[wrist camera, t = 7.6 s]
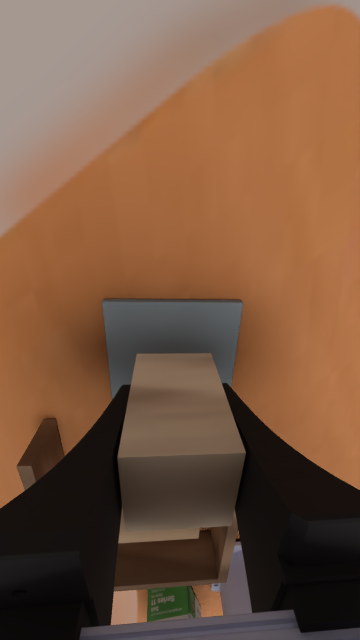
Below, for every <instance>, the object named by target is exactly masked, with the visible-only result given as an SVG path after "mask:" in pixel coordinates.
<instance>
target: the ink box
mask: <svg viewBox="0 0 360 640" xmlns="http://www.w3.org/2000/svg"><path fill="white" fill-rule="evenodd" d="M190 618H201V608H200V605H199V603H198V601H197V599H196V597H195V594H194V592H193V590H192V588H191V586H179V587H166V588H153V589H148V608H147V622H155V621H167V620H178V619H190Z"/></svg>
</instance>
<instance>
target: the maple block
mask: <svg viewBox="0 0 360 640" xmlns="http://www.w3.org/2000/svg"><path fill="white" fill-rule="evenodd" d="M245 455H246V452H245V449H244V446H243V443H242V440H241V437H240V435H239V432H238V429H237V426H236V423H235V420H234V417H233V414H232V412H231V409H230V406H229V403H228V400H227V397H226V394H225V391H224V389H223V386H222V383H221V380H220V377H219V374H218V371H217V368H216V366H215V363H214V360H213V357H212V354H211V353H173V354H137V355H136V361H135V366H134V371H133V377H132V382H131V387H130V393H129V398H128V403H127V409H126V414H125V420H124V425H123V430H122V436H121V441H120V446H119V452H118V457H117V459H118V469H119V478H120V488H121V498H122V507H123V517H124V527H125V532H137V531H154V530H171V529H188V528H205V527H222V526H231V524H232V519H233V514H234V509H235V504H236V499H237V495H238V490H239V485H240V480H241V475H242V470H243V465H244V460H245Z"/></svg>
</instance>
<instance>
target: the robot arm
mask: <svg viewBox="0 0 360 640" xmlns="http://www.w3.org/2000/svg"><path fill="white" fill-rule="evenodd" d="M222 386H223V389H224V391H225V394H226V397H227V400H228V403H229V406H230V409H231V412H232V414H233V417H234V420H235V423H236V426H237V429H238V432H239V435H240V437H241V440H242V443H243V446H244V449H245V452H246V455H245V460H244V465H243V470H242V475H241V480H240V485H239V490H238V495H237V499H236V504H235V514H236V519H237V525H238V530H239V535H240V541H238V542H235V546H234V550H233V555H232V559H231V564H230V568H229V573H228V578H227V582H226V583H218V584H211V585H210V586H211V590H212V591H220V596H221V603H222V609H223V616H213V617H201V618H190V619H178V620H167V621H155V622H143V623H133V624H121V625H111V615H112V603H113V592H114V582H115V572H116V562H117V552H118V542H119V532H120V523H121V514H122V498H121V488H120V478H119V469H118V459H117V457H118V452H119V446H120V441H121V436H122V430H123V425H124V420H125V414H126V409H127V403H128V398H129V393H130V387H131V385H122V386H121V387H120V388H119V390H118V392H117V393H116V395H115V397H114V398H113V400H112V401H111V403H110V404H109V406H108V407H107V408H106V410H105V411H104V412H103V414H102V415H101V417H100V418H99V419H98V420H97V422H96V423H95V424H94V425H93V427H92V428H91V429H90V430H89V431H88V433H87V434H86V435H85V436H84V437H83V438H82V439H81V440H80V442H79V443H78V444H77V445H76V446H75V447H74V448H73V449H72V450H71V451H70V452H69V453H68V454H67V455H66V456H65V457H64V458H63V459H62V460H61V461H59V462H58V463H57V464H56V465H55V466H54V467H53V468H52V469H51V470H49V471H48V472H47V473H46V474H45V475H43V476H42V477H41V478H40V479H39V480H37V481H36V482H35V483H34V484H33V485H31V486H30V487H29V488H28V489H26V490H25V491H24V492H23V493H21V494H20V495H18V496H17V497H16V498H14V499H13V500H12V501H10V502H9V503H7V504H6V505H5V506H3V507H2V508H1V509H0V640H360V490H358V489H357V488H355V487H353V486H351V485H349V484H348V483H346V482H344V481H342V480H340V479H339V478H337V477H335V476H334V475H332V474H330V473H329V472H327V471H326V470H324V469H322V468H321V467H319V466H318V465H316V464H315V463H313V462H312V461H310V460H309V459H307V458H306V457H305V456H303V455H302V454H300V453H299V452H298V451H296V450H295V449H293V448H292V447H291V446H290V445H288V444H287V443H286V442H285V441H283V440H282V439H281V438H280V437H279V436H277V435H276V434H275V433H274V432H273V431H271V430H270V429H269V428H268V427H267V426H266V425H265V424H264V423H263V422H262V421H261V420H260V419H259V418H258V417H257V416H256V415H255V414H254V413H253V412H252V411H251V410H250V409H249V408H248V407H247V405H246V404H245V403H244V402H243V401H242V400H241V399H240V398H239V396H238V395H237V394H236V393H235V392H234V391H233V389H232V388H231V387H230V386H229V385H228V384H227V383H222Z"/></svg>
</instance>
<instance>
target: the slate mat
mask: <svg viewBox="0 0 360 640" xmlns="http://www.w3.org/2000/svg"><path fill="white" fill-rule="evenodd" d="M102 306H103V315H104V325H105V335H106V345H107V354H108V364H109V374H110V384H111V393H112V400H113V398H114V397H115V395H116V393H117V392H118V390H119V388H120V387H121V386H122V385H131V382H132V377H133V371H134V366H135V361H136V355H137V354H173V353H211V354H212V357H213V360H214V363H215V366H216V368H217V371H218V374H219V377H220V380H221V383H227V384H228V385H229V386H230V387H231V384H232V377H233V370H234V363H235V356H236V349H237V342H238V335H239V328H240V321H241V314H242V307H243V302H242V301H241V300H197V299H104V300H103V301H102Z"/></svg>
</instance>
